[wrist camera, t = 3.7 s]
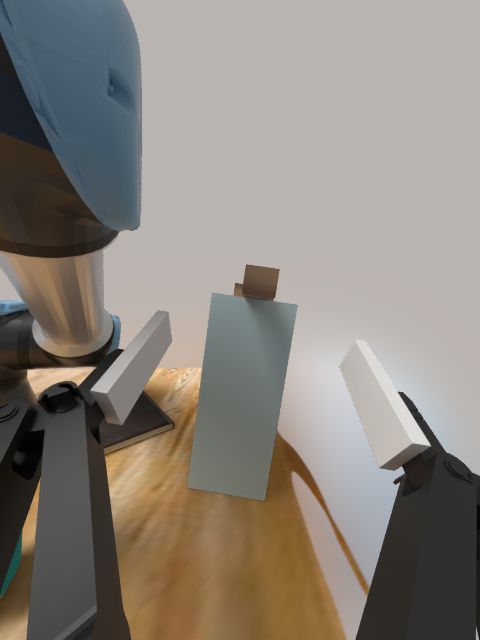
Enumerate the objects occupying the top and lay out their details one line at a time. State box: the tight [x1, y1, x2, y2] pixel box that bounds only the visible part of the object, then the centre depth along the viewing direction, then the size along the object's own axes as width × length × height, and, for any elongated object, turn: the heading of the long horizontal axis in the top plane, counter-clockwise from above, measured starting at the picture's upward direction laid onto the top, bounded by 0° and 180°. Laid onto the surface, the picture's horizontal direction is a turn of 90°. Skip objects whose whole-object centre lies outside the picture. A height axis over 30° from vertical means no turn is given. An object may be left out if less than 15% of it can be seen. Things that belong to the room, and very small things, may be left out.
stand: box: [187, 293, 298, 501], centre depth 37 cm, size 16×12×30 cm
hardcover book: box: [100, 391, 174, 454], centre depth 45 cm, size 16×23×2 cm
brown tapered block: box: [234, 265, 280, 301], centre depth 30 cm, size 27×7×2 cm, turn 177°
